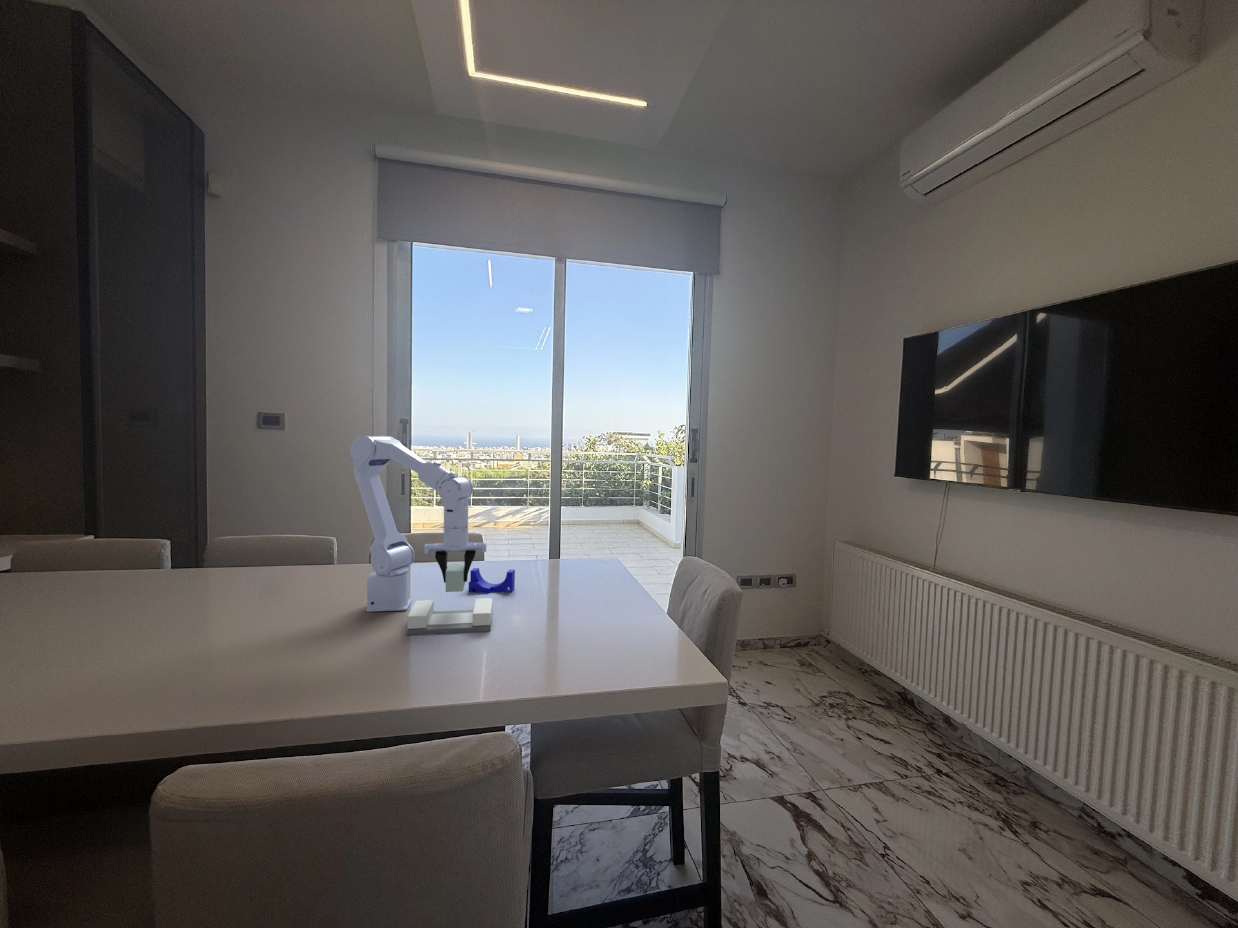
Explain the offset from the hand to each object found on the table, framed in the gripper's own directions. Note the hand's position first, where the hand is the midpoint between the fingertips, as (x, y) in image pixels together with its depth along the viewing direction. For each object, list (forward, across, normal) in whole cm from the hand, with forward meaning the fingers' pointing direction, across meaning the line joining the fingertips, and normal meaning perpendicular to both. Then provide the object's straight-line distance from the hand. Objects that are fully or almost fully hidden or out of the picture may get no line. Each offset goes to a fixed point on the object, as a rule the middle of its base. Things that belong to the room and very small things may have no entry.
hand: (455, 581), depth 129 cm
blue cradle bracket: (+9, +8, +19) cm, 23 cm away
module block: (+2, 0, 0) cm, 2 cm away
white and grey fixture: (+8, 0, -6) cm, 10 cm away
